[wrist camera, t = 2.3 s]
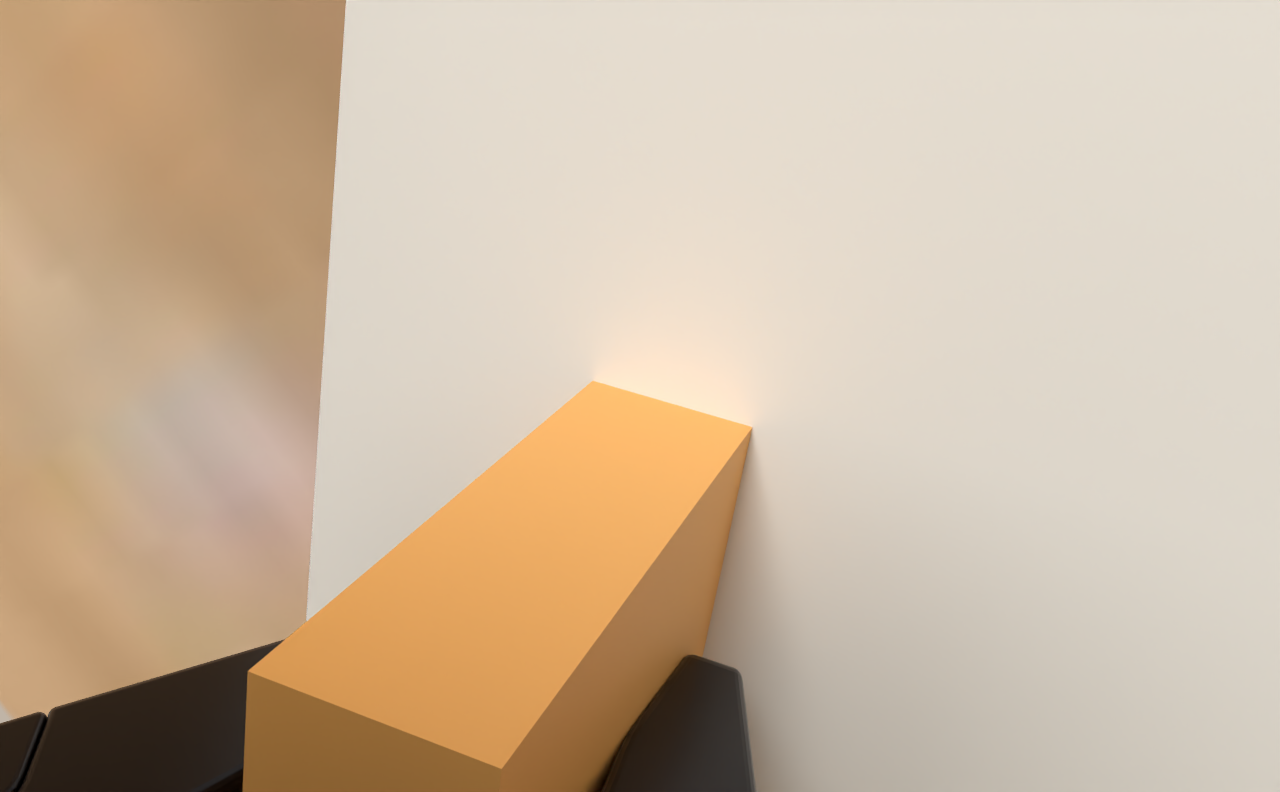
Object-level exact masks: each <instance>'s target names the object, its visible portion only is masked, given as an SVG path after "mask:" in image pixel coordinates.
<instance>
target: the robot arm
mask: <svg viewBox="0 0 1280 792" xmlns="http://www.w3.org/2000/svg"><path fill="white" fill-rule="evenodd" d="M283 641H284V640H281V641H278V642H275V643H271V644H268V645H265V646H261V647H258V648H254V649H251V650H248V651H244V652H241V653H237V654H234V655H231V656H227V657H224V658H221V659H217V660H214V661H210V662H207V663H204V664H200V665H197V666H193V667H190V668H187V669H183V670H180V671H177V672H173V673H170V674H166V675H163V676H160V677H156V678H153V679H149V680H146V681H143V682H139V683H136V684H133V685H129V686H126V687H122V688H119V689H116V690H112V691H109V692H105V693H102V694H99V695H95V696H92V697H88V698H85V699H82V700H78V701H75V702H72V703H68V704H65V705H61V706H58V707H55V708H53V709H52V710H51V711H50V712H49V714H48V717H47V716H46V715H45V714H44V713H42V712H37V713H33V714H30V715H27V716H24V717H20V718H17V719H13V720H10V721H7V722H3V723H0V792H243V769H244V746H245V723H246V700H247V676H248V671H249V670H250V669H251V668H252V667H253V666H254V665H256V664H257V663H258V662H259V661H260V660H262V659H263V658H264V657H265V656H266V655H268V654H269V653H270V652H271V651H272V650H273V649H275V648H276V647H277V646H278V645H279V644H281V643H282V642H283ZM601 792H756V785H755V777H754V768H753V760H752V752H751V744H750V736H749V728H748V720H747V712H746V704H745V696H744V688H743V680H742V676H741V674H740V672H739V671H738V670H737V669H735V668H733V667H730V666H727V665H724V664H721V663H718V662H715V661H712V660H709V659H706V658H703V657H700V656H697V655H688V656H686V657H685V658H684V659H682V661H681V662H680V663H679V665H678V666H677V667H676V669H675V670H674V671H673V673H672V674H671V675H670V677H669V678H668V679H667V681H666V682H665V683H664V684H663V686H662V687H661V688H660V690H659V691H658V692H657V694H656V695H655V696H654V698H653V699H652V700H651V702H650V703H649V704H648V706H647V707H646V708H645V710H644V711H643V712H642V714H641V715H640V716H639V718H638V719H637V720H636V722H635V723H634V725H633V726H632V728H631V729H630V731H629V732H628V733H627V735H626V736H625V738H624V740H623V742H622V744H621V746H620V748H619V750H618V752H617V755H616V757H615V759H614V762H613V764H612V767H611V769H610V772H609V774H608V777H607V779H606V781H605V784H604V786H603V789H602V791H601Z"/></svg>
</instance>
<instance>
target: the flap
mask: <svg viewBox="0 0 1280 792" xmlns="http://www.w3.org/2000/svg"><path fill="white" fill-rule="evenodd" d="M688 655H697V656H700V657H703V658H706V659H709V660H712V661H715V662H718V663H721V664H724V665H727V666H730V667H733V668H735V669H737V670H738V671H739V672H740V674H741V676H742V680H743V688H744V696H745V704H746V712H747V720H748V728H749V736H750V744H751V752H752V760H753V768H754V777H755V785H756V792H1280V0H346V10H345V25H344V41H343V56H342V72H341V87H340V103H339V119H338V134H337V150H336V165H335V181H334V196H333V212H332V227H331V243H330V258H329V274H328V290H327V305H326V321H325V336H324V352H323V367H322V383H321V398H320V414H319V430H318V445H317V461H316V476H315V492H314V507H313V523H312V538H311V554H310V569H309V585H308V601H307V616H306V623H304V624H303V625H302V626H301V627H300V628H298V629H297V630H296V631H295V632H294V633H292V634H291V635H290V636H289V637H288V638H287V639H285V640H284V641H283V642H282V643H281V644H279V645H278V646H277V647H276V648H275V649H273V650H272V651H271V652H270V653H269V654H268V655H266V656H265V657H264V658H263V659H262V660H260V661H259V662H258V663H257V664H256V665H254V666H253V667H252V668H251V669H250V670H249V671H248V676H247V700H246V723H245V746H244V769H243V792H601V791H602V789H603V786H604V784H605V781H606V779H607V777H608V774H609V772H610V769H611V767H612V764H613V762H614V759H615V757H616V755H617V752H618V750H619V748H620V746H621V744H622V742H623V740H624V738H625V736H626V735H627V733H628V732H629V731H630V729H631V728H632V726H633V725H634V723H635V722H636V720H637V719H638V718H639V716H640V715H641V714H642V712H643V711H644V710H645V708H646V707H647V706H648V704H649V703H650V702H651V700H652V699H653V698H654V696H655V695H656V694H657V692H658V691H659V690H660V688H661V687H662V686H663V684H664V683H665V682H666V681H667V679H668V678H669V677H670V675H671V674H672V673H673V671H674V670H675V669H676V667H677V666H678V665H679V663H680V662H681V661H682V659H684V658H685V657H686V656H688Z"/></svg>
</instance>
